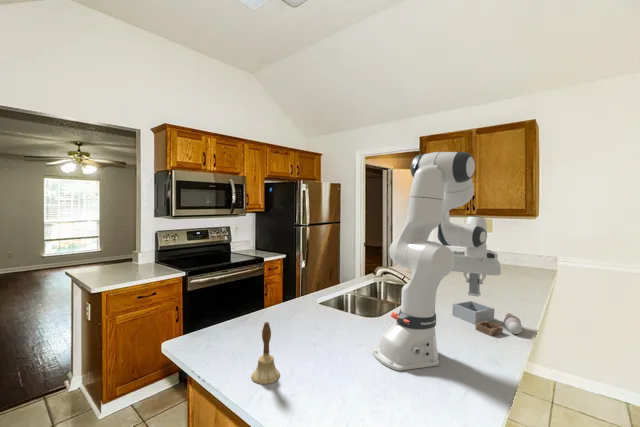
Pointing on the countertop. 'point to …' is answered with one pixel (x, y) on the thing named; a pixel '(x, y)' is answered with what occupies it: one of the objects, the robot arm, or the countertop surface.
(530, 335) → the countertop surface
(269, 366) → the hand bell
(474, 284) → the strut
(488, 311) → the tub
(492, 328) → the socket ring
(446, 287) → the countertop surface
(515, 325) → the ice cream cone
